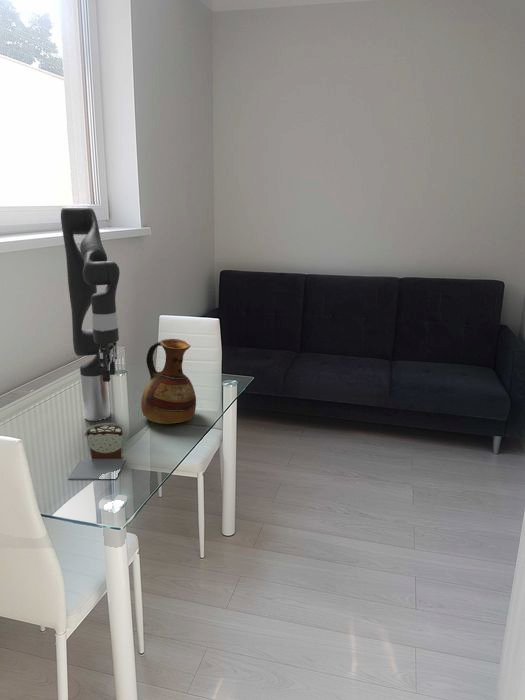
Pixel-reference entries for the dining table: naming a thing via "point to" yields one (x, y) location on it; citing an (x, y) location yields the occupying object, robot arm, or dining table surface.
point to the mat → (94, 468)
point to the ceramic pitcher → (168, 386)
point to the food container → (105, 441)
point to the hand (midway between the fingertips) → (109, 377)
